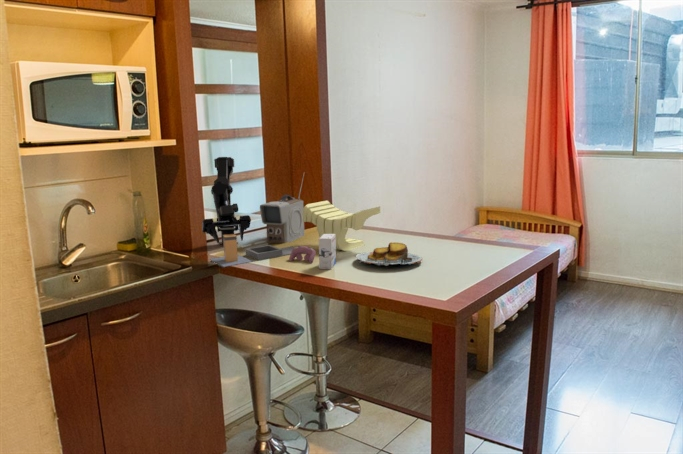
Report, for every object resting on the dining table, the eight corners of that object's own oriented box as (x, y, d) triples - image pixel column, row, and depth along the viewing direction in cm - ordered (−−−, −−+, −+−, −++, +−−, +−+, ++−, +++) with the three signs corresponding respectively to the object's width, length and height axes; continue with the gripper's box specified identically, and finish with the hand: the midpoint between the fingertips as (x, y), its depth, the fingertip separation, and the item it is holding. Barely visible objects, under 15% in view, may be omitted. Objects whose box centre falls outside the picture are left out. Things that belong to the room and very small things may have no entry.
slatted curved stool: (303, 245, 251) (302, 205, 247) (328, 238, 263) (327, 200, 259) (356, 255, 231) (355, 212, 228) (380, 247, 243) (380, 206, 240)
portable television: (260, 244, 255) (257, 177, 249) (285, 233, 276) (283, 171, 270) (284, 246, 250) (281, 177, 244) (308, 235, 271) (306, 171, 266)
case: (245, 256, 234) (245, 248, 234) (292, 248, 246) (291, 241, 246) (258, 261, 226) (257, 253, 225) (305, 252, 238) (305, 245, 237)
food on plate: (343, 261, 224) (343, 244, 223) (394, 252, 237) (394, 236, 236) (382, 275, 203) (381, 257, 202) (435, 264, 216) (435, 247, 215)
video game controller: (315, 265, 224) (317, 247, 226) (311, 262, 220) (313, 245, 221) (292, 263, 227) (294, 246, 229) (287, 261, 223) (290, 243, 225)
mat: (209, 260, 228) (209, 259, 228) (237, 255, 235) (237, 254, 235) (224, 267, 217) (223, 266, 217) (252, 262, 224) (252, 261, 224)
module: (224, 259, 227) (222, 234, 225) (235, 258, 229) (234, 233, 227) (226, 262, 223) (224, 237, 221) (238, 260, 225) (236, 235, 223)
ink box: (324, 263, 221) (323, 233, 218) (337, 263, 220) (336, 233, 217) (318, 269, 213) (317, 238, 210) (332, 269, 212) (331, 238, 209)
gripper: (200, 198, 221) (207, 232, 213) (248, 195, 228) (256, 227, 220) (199, 215, 230) (205, 248, 222) (245, 211, 237) (253, 243, 229)
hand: (230, 241), depth 223 cm, fingers open, 9 cm apart
